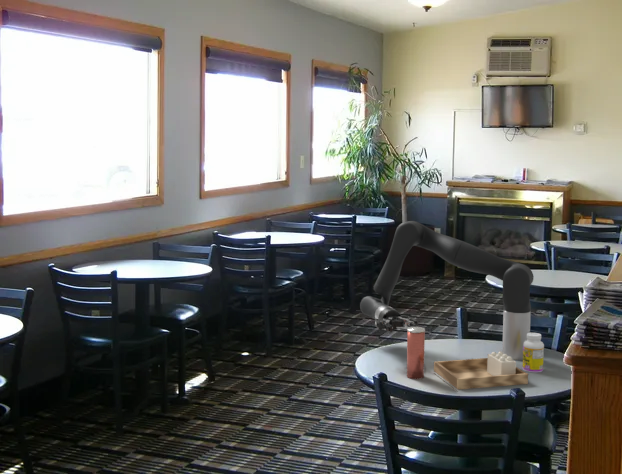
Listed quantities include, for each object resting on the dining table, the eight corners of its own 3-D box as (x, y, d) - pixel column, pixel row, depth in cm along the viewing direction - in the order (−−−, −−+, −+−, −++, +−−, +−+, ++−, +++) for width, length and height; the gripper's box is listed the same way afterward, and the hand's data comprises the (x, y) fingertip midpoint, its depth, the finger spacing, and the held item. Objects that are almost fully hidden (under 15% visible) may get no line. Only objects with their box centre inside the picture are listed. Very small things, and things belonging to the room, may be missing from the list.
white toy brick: (501, 370, 268) (501, 349, 267) (515, 379, 259) (516, 357, 258) (487, 371, 267) (487, 350, 266) (500, 380, 257) (501, 358, 256)
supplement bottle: (519, 369, 273) (520, 331, 271) (538, 368, 273) (540, 331, 272) (526, 375, 266) (527, 336, 265) (546, 374, 267) (547, 336, 265)
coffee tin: (420, 373, 268) (421, 326, 266) (426, 378, 262) (427, 330, 260) (403, 374, 267) (404, 327, 265) (410, 379, 261) (410, 331, 259)
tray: (499, 368, 273) (499, 357, 273) (527, 386, 254) (528, 373, 254) (433, 373, 268) (434, 361, 267) (457, 391, 249) (458, 379, 249)
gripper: (369, 308, 287) (383, 318, 272) (407, 306, 290) (423, 317, 275) (368, 328, 288) (382, 340, 273) (406, 327, 292) (422, 338, 276)
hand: (403, 328), depth 274 cm, fingers open, 8 cm apart
